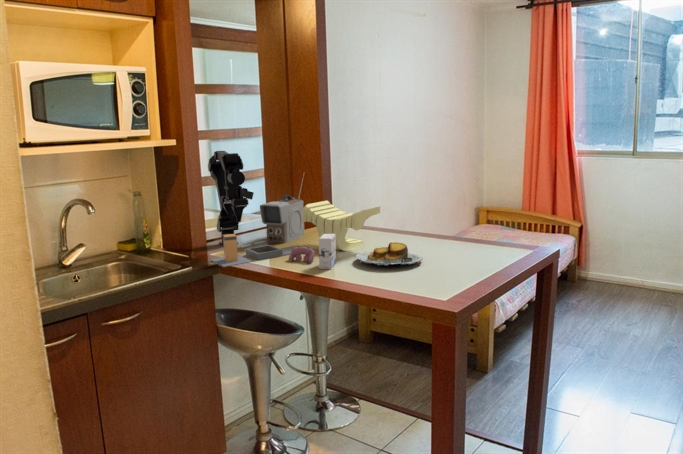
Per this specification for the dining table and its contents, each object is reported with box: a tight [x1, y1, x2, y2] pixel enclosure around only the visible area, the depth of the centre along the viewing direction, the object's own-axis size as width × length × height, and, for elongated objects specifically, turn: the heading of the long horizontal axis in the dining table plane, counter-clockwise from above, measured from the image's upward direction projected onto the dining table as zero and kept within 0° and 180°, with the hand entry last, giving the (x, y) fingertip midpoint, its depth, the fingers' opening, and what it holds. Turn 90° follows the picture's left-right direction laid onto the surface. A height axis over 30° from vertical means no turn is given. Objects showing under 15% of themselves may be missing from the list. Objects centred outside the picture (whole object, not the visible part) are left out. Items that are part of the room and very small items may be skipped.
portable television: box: [259, 172, 305, 244], centre depth 260 cm, size 12×24×30 cm, turn 157°
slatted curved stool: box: [303, 200, 381, 252], centre depth 245 cm, size 30×16×18 cm, turn 49°
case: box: [245, 244, 296, 261], centre depth 236 cm, size 11×22×3 cm, turn 125°
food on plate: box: [355, 241, 423, 266], centre depth 220 cm, size 25×25×7 cm
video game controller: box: [288, 246, 316, 265], centre depth 223 cm, size 10×5×7 cm, turn 72°
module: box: [222, 233, 239, 262], centre depth 225 cm, size 5×5×10 cm
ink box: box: [318, 234, 337, 270], centre depth 215 cm, size 9×5×12 cm, turn 168°
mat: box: [209, 253, 254, 269], centre depth 226 cm, size 14×12×1 cm
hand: (235, 220), depth 242 cm, fingers open, 9 cm apart
